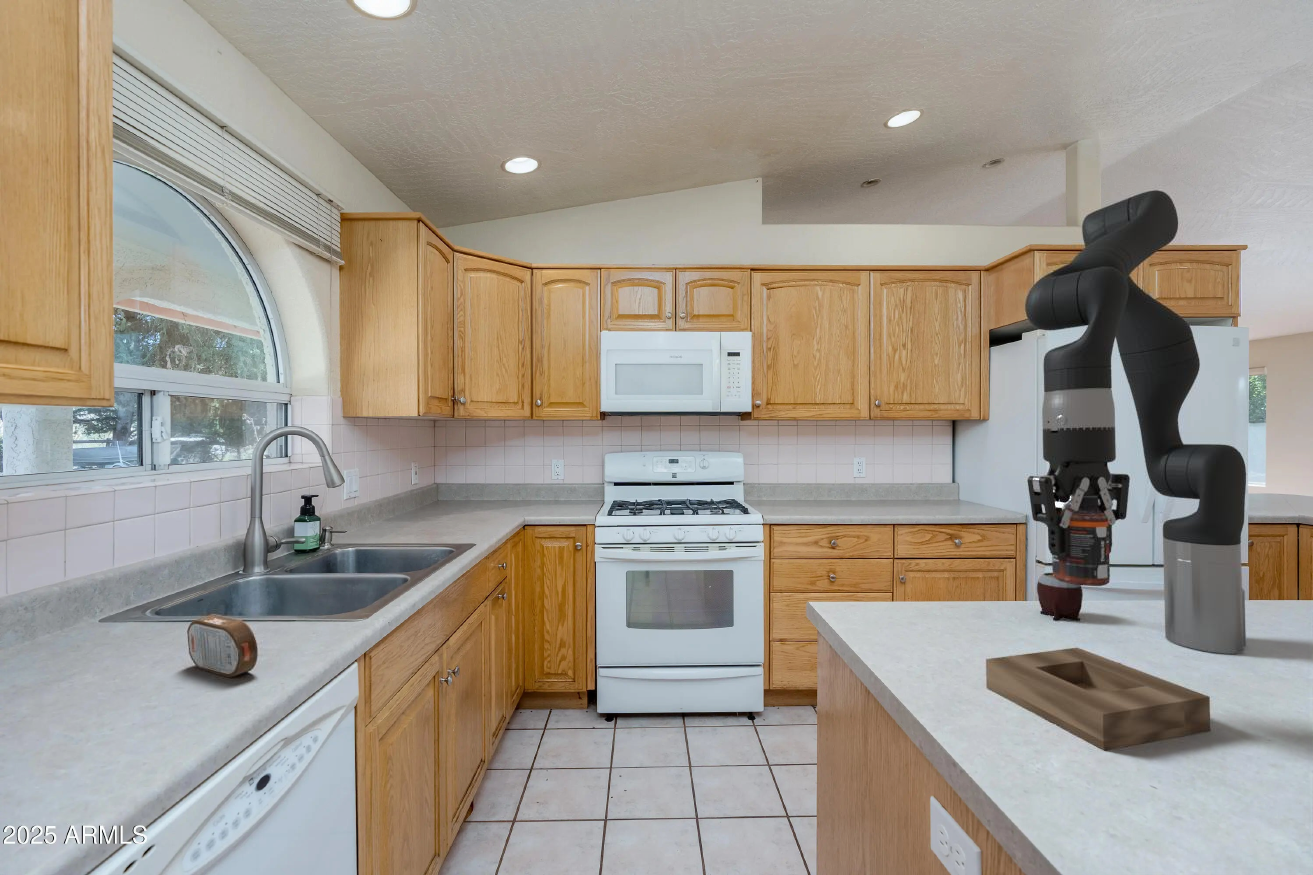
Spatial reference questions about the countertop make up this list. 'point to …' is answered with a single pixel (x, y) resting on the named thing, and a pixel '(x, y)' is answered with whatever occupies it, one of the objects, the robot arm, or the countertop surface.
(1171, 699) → the walnut holder
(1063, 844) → the countertop surface
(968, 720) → the countertop surface
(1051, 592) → the mate gourd
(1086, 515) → the supplement bottle
